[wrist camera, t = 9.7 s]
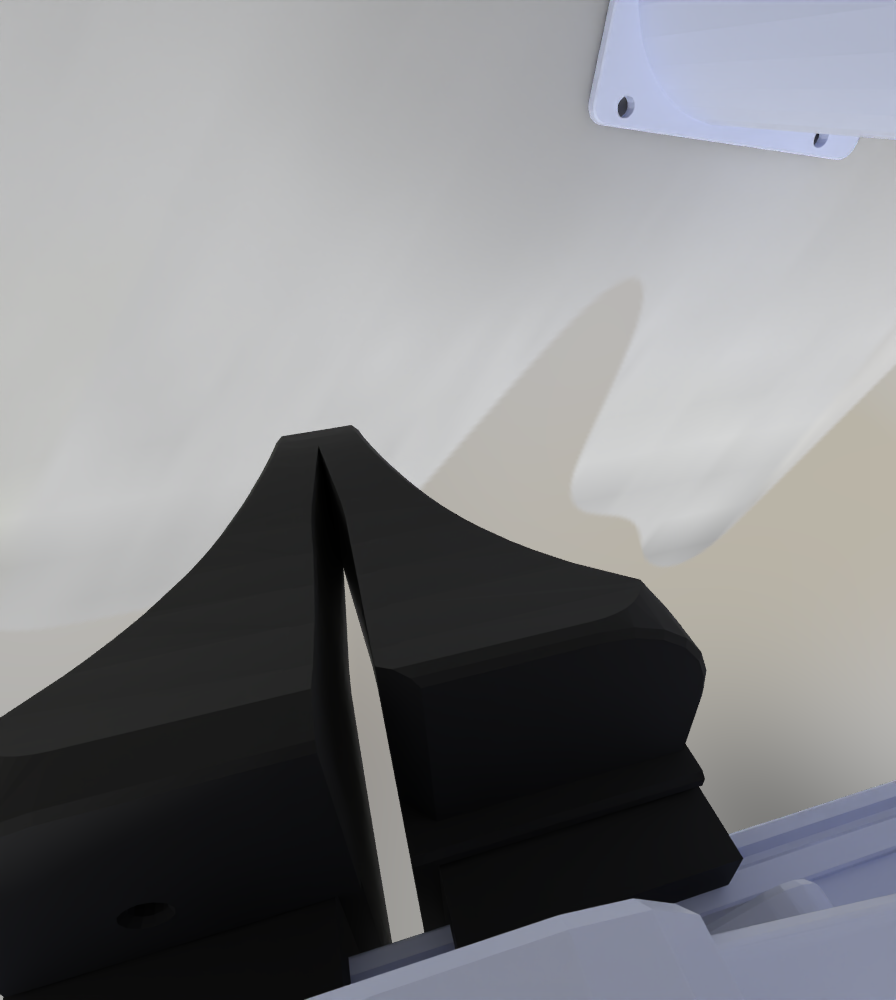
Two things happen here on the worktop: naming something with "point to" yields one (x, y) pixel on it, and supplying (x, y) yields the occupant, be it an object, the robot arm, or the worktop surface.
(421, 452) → the worktop surface
